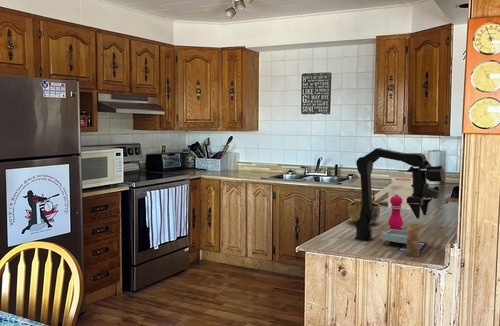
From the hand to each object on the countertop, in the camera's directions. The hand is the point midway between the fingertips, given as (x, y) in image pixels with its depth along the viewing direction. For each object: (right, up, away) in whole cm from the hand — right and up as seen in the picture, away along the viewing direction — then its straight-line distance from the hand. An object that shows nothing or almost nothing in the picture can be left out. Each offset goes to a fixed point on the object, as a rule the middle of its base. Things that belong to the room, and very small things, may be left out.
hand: (421, 216), depth 215 cm
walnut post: (-7, -15, -9) cm, 19 cm away
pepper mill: (-2, -11, +33) cm, 35 cm away
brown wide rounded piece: (-14, -10, +50) cm, 53 cm away
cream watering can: (+19, -5, +102) cm, 104 cm away
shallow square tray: (-7, -14, +8) cm, 17 cm away
